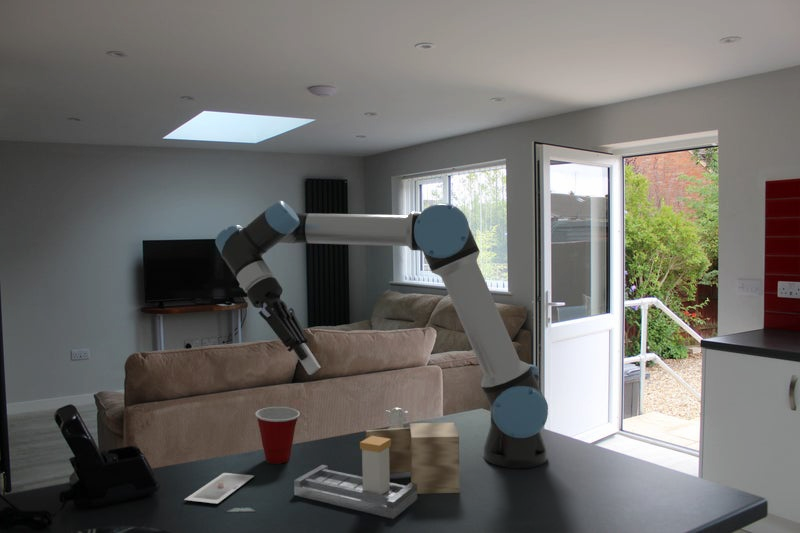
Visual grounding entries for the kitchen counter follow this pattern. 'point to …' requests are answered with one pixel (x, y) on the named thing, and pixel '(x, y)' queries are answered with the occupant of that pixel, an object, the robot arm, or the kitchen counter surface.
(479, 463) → the kitchen counter surface
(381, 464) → the fader knob
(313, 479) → the fader track
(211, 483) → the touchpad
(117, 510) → the kitchen counter surface
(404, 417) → the sitting furry creature
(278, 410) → the plastic cup
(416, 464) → the wooden cabinet
